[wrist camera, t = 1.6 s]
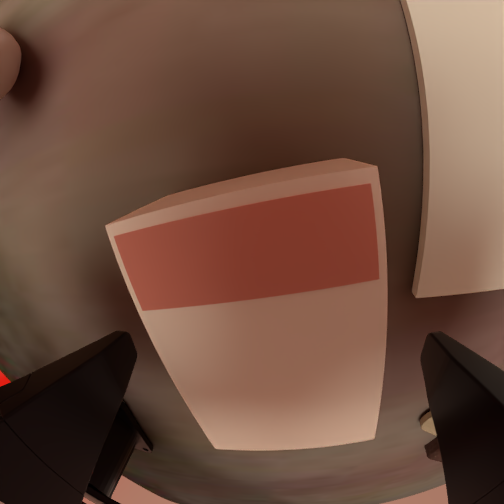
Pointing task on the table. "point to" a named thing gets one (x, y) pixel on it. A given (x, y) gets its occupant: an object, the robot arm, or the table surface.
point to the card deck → (267, 302)
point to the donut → (8, 62)
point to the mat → (460, 144)
